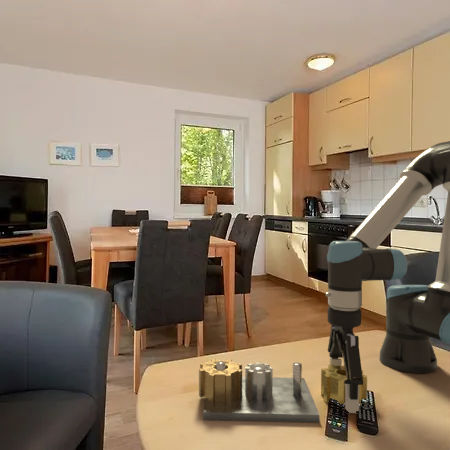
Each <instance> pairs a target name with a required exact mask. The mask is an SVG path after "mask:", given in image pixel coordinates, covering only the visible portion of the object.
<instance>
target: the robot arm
mask: <svg viewBox="0 0 450 450" xmlns="http://www.w3.org/2000/svg"><path fill="white" fill-rule="evenodd" d="M441 185H442V187H443V189H445V190H446V192H447V195H446V196H447V198H446V204H445V212H444V218H443V225H442V232H441V239H440V247H439V255H438V258H437V259H438V260H437V267H436V275H435V281H433V282H432V283H430V284H428V285H427V284H395V285H391V286H389V287H388V288H387V290H386V298H385V305H386V306H385V313H386V317H385V322H386V323H385V324H386V325H385V326H386V331H385V337H384V340H383V341H382V345H381V348H380V351H379V361H380V362H381V363H382V364H383V365H384V366H386V367H388V368H391V369H394V370H397V371H400V372H405V373H413V374H429V373H434V372H436V371H437V370H438V360H437V355H436V353H435V351H434V350H435V349H434V347H433V343H432V341H431V340H432V339H431V338H433V339H436V340H438V341H441V342H442V343H444V344H446V345H450V140H448V141H443V142H439V143H435V144H434V145H432V146H430V147H429V148H427V149H425V150H423V151H422V152H421V153H420V154H419V155H418V156H416V157H415V158H414V159H413V160H412V161H411V162H410V163H409V164H408V165H407V166H406V167H405V168H404V169H403V171H402V172H401V173H400V175H399V180H398V181H397V182H396V183H395V185H394V186H393V187H392V188H391V190H390V191H388V192H387V194H386V195H385V196H384V197H383V199H382V200H380V201H379V203H377V205H376V206H375V207H374V208H373V209H372V211H371V212H370V213H369V214H368V215H367V216H366V218H365V219H364V220H363V221H362V222H361V223H360V225H358V226H357V228H356V229H355V230H354V231H353V232H352V233H351V234H350V236H348V237H347V239H346V240H333V241H332V242H330V244H328V252H327V254H326V260H327V265H328V266H327V271H328V272H327V276H328V277H327V284H328V286H327V287H328V288H327V290H328V292H325V297H327V304H328V307H327V323H329V324H330V334H329V339H328V345H327V346H328V347H327V352H328V353H329V355H328V356H329V358H330V359H329V365H332V364H333V365H334V366H344V365H345V371H346V377H347V380H345V381H344V384H345V407H344V410H345V409H346V410H347V411H348V412H349V413H348V414H357V413H356V411H359V412H360V408H359V385H363V376H362V370H363V368H362V364H361V354H360V353H361V352H360V347H359V346H360V345H359V344H360V341H359V339H360V338H359V336H358V335H356V334H355V333H354V328H357V327H360V326H361V325H362V310H361V308H362V306H363V303H362V302H363V300H362V299H363V298H362V297H363V289H362V288H363V287H362V286H363V282H367V281H368V282H370V281H372V282H373V281H388V282H389V281H393V280H399V279H401V278H403V277H405V275H406V273H407V271H408V259H407V257H406V255H405V254H404V252H402V251H401V250H400V249H396V248H378V247H380V245H381V244H382V242H383V241H384V240H385V239H386V238H387V237H388V235H389V234H390V233H391V232H392V231H393V230H394V229H395V228H396V227H397V225H398V224H399V223H400V222H401V221H402V220H403V218H404V217H405V216H406V215H407V214H408V213H409V212H410V210H411V209H412V208H413V207H414V206H415V205H416V204H417V202H419V201H420V198H422V196H427V195H429V194H430V193H431V192H432V191H433V190H434V189H436V188H437V187H439V186H441ZM342 360H343V361H342ZM342 363H343V365H342Z"/></svg>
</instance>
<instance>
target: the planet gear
mask: <svg viewBox="0 0 450 450" xmlns="http://www.w3.org/2000/svg"><path fill="white" fill-rule="evenodd" d="M320 375H321V376H320V377H321V378H320V384H321V385H320V395H321V396H323V401H324V402H325V403H326V404H328V402H329V399H330V398H332V399H335V400H337V401H338V403H340V404H344V403H345V384H344V381H345V380H347V377H346V371H345V365H344V364H343V365H342V366H334V365H333V364H332V365H330V364H328V367H326V368H324V367H322V368H321V373H320ZM362 376H363V385H359V404H361V400H362V399H367V400H368V375H366V374H364V370H363V369H362ZM329 403H330V402H329ZM361 405H362V404H361Z"/></svg>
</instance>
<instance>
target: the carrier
mask: <svg viewBox="0 0 450 450" xmlns="http://www.w3.org/2000/svg"><path fill="white" fill-rule="evenodd" d="M244 368H245V372H244V373H245V375H244V376H242V397H241V398H235V399H232V400H231V402H230V403H226V402H224V401H215V402H214V403H212V402H208V399H207V398H205V402H204V407H203V412H202V414H203V417H202V420H203V421H233V422H234V421H237V422H239V421H240V422H241V421H242V422H243V421H244V422H272V423H273V422H274V423H275V422H278V423H280V422H281V423H283V422H286V423H315V424H316V423H318V424H319V423H320V417H321V415H320V413H319V410H318V408H317V405H316V404H315V401H314V399H313V396H312V394H311V391H310V388H309V386H308V384H307V382H306V380H305V377H302V375H303V373H302V372H303V370H302V369H303V367H302V362H297V361H296V362H295V361H294V362H292V377H276V376H275V377H273V375H274V372H273V370H274V369H273V366H270V364H269V363H261V362H255V363H248V364H247V366H245V367H244ZM217 370H225V362H224V361H218V362H217Z"/></svg>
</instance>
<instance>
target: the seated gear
mask: <svg viewBox="0 0 450 450" xmlns="http://www.w3.org/2000/svg"><path fill="white" fill-rule="evenodd" d="M218 361H224V362H225V370H217V362H218ZM199 367H200V368H198V397H200V398H205V399H206V398H207V399H208V402H212V403H214V402H215V401H224V402H226V403H230V402H231V400H232V399H235V398H241V397H242V377H243V365H242V363H241V362H239V363H236V362H235V361H233V360H232V359H230V358H229V359H226V360H224V359H217V358H212V359H210V361H207V362H203V361H202V362H201V363H200V364H199Z"/></svg>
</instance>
